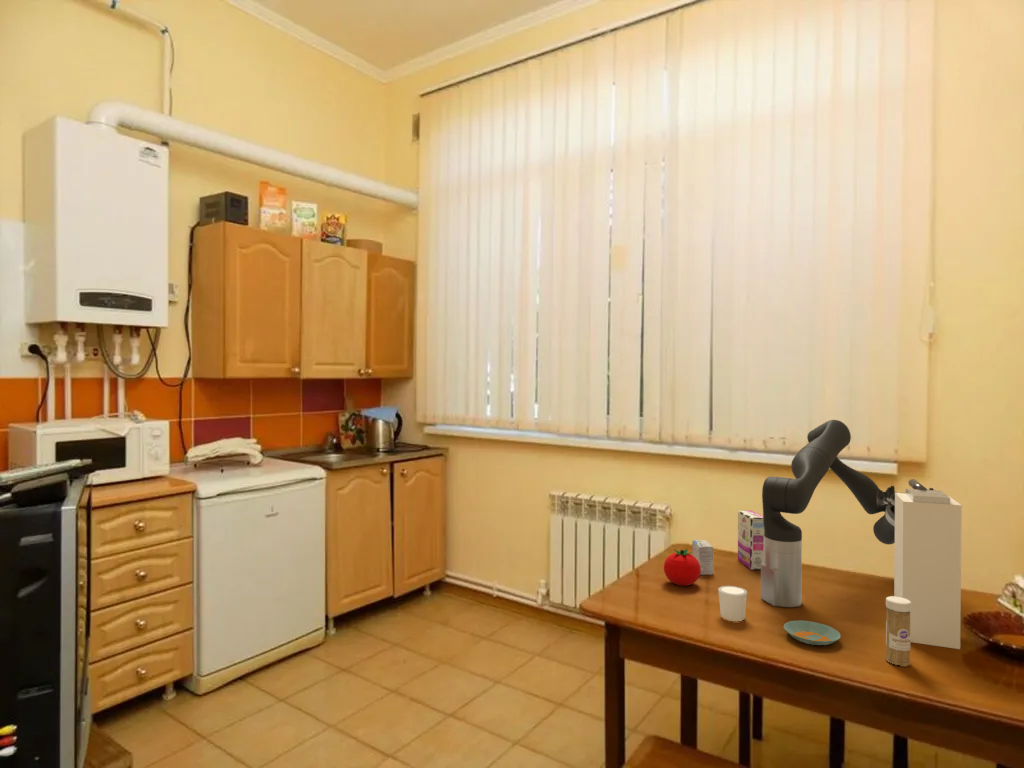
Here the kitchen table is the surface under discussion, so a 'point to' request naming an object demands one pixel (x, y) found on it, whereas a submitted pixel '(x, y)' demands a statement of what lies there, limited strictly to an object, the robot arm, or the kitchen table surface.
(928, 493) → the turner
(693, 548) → the medicine box
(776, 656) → the kitchen table surface
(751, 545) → the candy bar box
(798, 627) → the saucer
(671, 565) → the tomato
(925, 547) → the stand
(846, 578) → the kitchen table surface
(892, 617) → the sprinkles bottle
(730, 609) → the white cup
